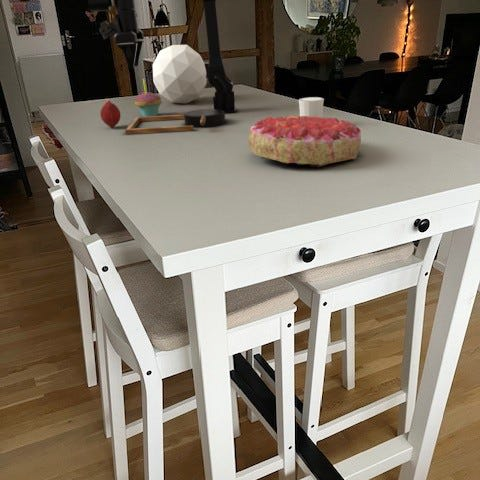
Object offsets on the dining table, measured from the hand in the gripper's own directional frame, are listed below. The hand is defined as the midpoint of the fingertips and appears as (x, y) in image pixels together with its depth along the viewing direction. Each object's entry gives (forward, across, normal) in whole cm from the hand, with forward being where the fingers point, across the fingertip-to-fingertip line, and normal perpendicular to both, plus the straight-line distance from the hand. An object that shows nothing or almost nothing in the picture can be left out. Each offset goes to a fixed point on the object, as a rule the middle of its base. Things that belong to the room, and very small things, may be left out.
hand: (133, 67), depth 163 cm
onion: (+15, +17, -6) cm, 23 cm away
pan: (+15, +22, +22) cm, 34 cm away
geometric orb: (+15, -24, +12) cm, 31 cm away
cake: (+15, +62, +46) cm, 78 cm away
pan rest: (+15, +18, +9) cm, 25 cm away
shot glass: (+15, +30, +52) cm, 62 cm away
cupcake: (+15, 0, +3) cm, 15 cm away
